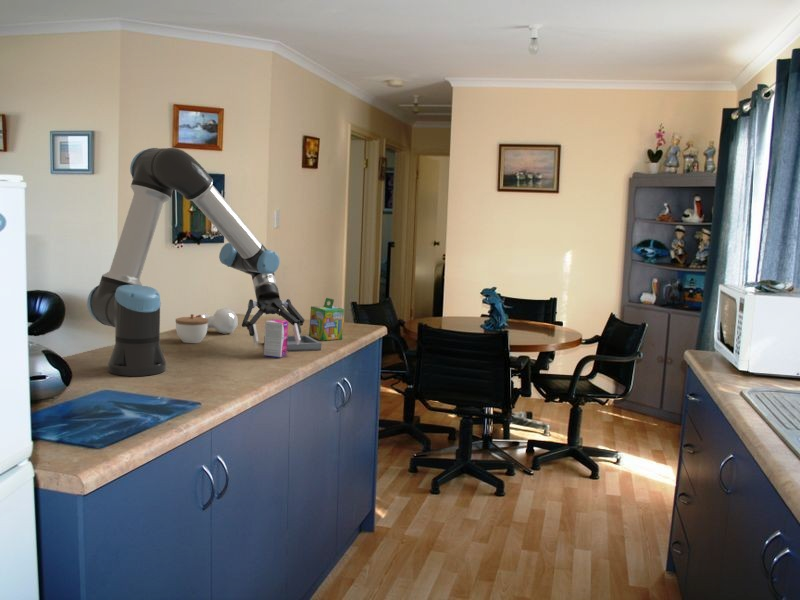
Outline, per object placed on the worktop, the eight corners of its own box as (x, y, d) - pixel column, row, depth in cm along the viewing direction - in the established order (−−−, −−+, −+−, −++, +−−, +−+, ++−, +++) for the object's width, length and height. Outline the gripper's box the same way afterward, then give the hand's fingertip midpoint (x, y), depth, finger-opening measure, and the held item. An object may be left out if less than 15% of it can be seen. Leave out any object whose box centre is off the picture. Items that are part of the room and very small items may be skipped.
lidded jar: (169, 342, 246) (169, 315, 245) (185, 337, 256) (186, 311, 255) (197, 345, 244) (198, 317, 242) (213, 340, 254) (214, 313, 253)
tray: (276, 351, 240) (277, 344, 240) (264, 343, 254) (264, 336, 253) (321, 350, 247) (321, 343, 247) (306, 341, 261) (306, 335, 260)
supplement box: (281, 358, 230) (282, 322, 229) (263, 357, 231) (264, 321, 230) (287, 355, 236) (288, 320, 234) (270, 353, 237) (271, 318, 235)
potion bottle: (238, 338, 267) (199, 340, 269) (244, 320, 274) (206, 322, 276) (230, 320, 261) (190, 322, 263) (237, 302, 268) (198, 304, 270)
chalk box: (308, 337, 270) (309, 297, 268) (328, 335, 276) (330, 296, 274) (323, 341, 263) (324, 300, 261) (343, 339, 269) (345, 299, 267)
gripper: (230, 282, 234) (241, 337, 223) (305, 282, 245) (318, 334, 234) (226, 297, 240) (236, 350, 228) (299, 296, 251) (312, 348, 239)
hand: (278, 342), depth 231 cm, fingers open, 13 cm apart
